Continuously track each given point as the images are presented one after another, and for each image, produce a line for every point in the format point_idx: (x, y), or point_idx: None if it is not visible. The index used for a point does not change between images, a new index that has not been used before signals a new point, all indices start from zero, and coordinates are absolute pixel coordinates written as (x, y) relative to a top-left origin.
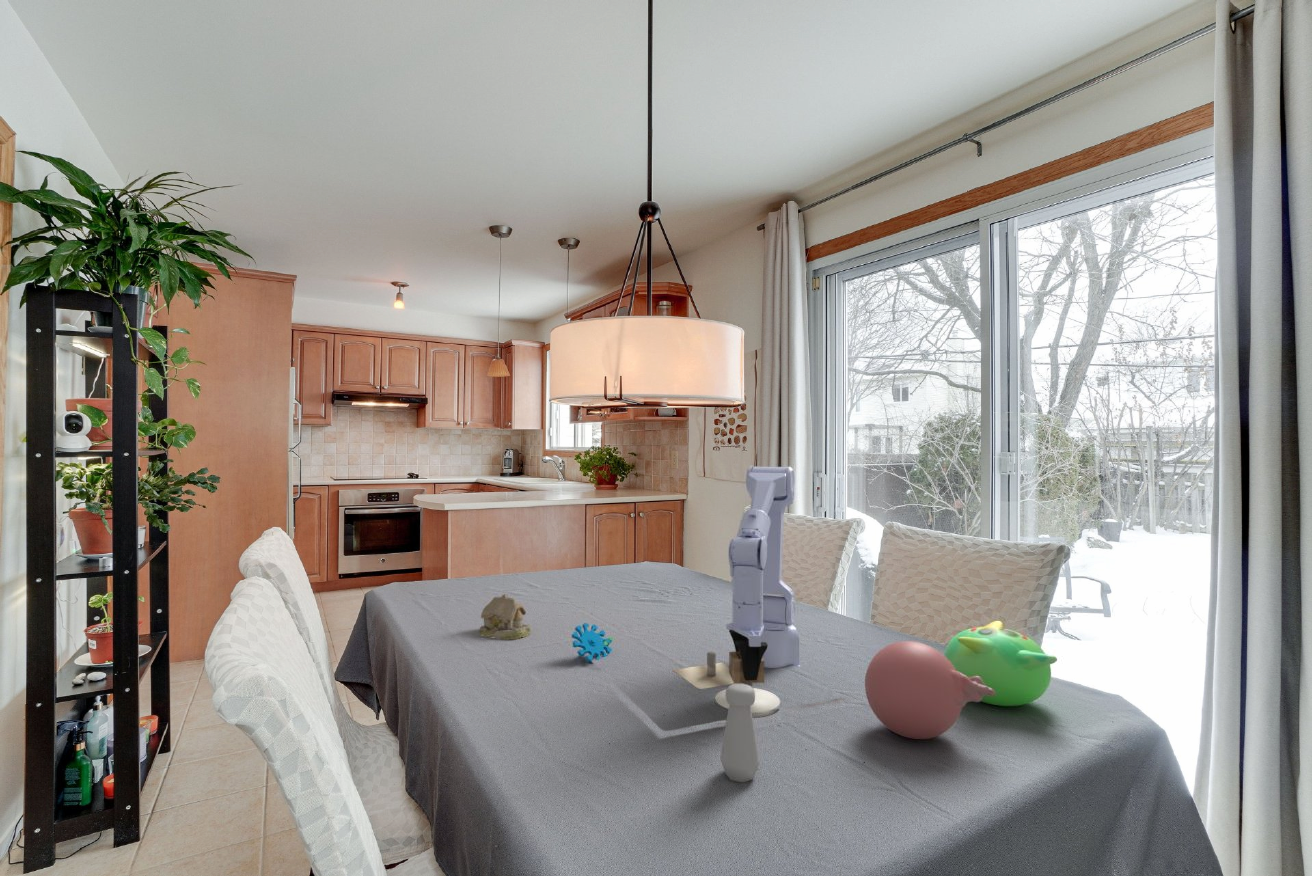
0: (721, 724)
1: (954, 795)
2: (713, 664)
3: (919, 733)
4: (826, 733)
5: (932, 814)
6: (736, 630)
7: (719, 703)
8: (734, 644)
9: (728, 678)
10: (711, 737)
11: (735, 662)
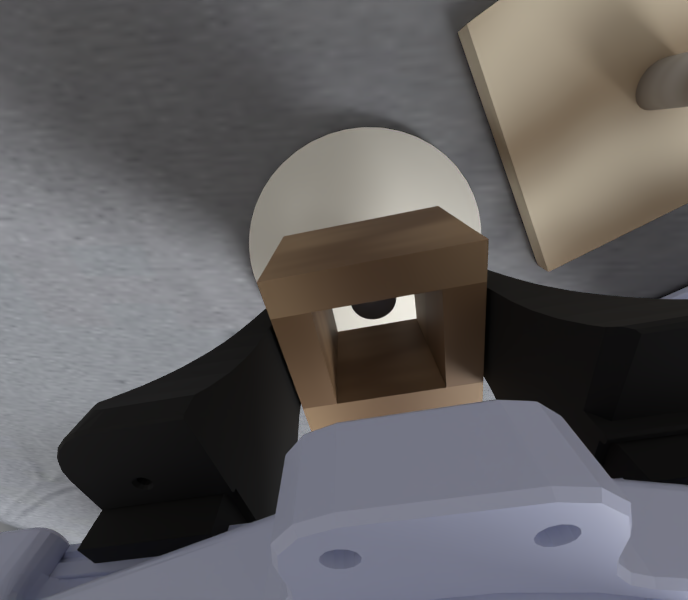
0: (170, 166)
1: (80, 526)
2: None
3: None
4: None
5: (2, 503)
6: (201, 570)
7: (304, 151)
8: (543, 299)
9: (591, 178)
10: (44, 132)
11: (264, 287)
